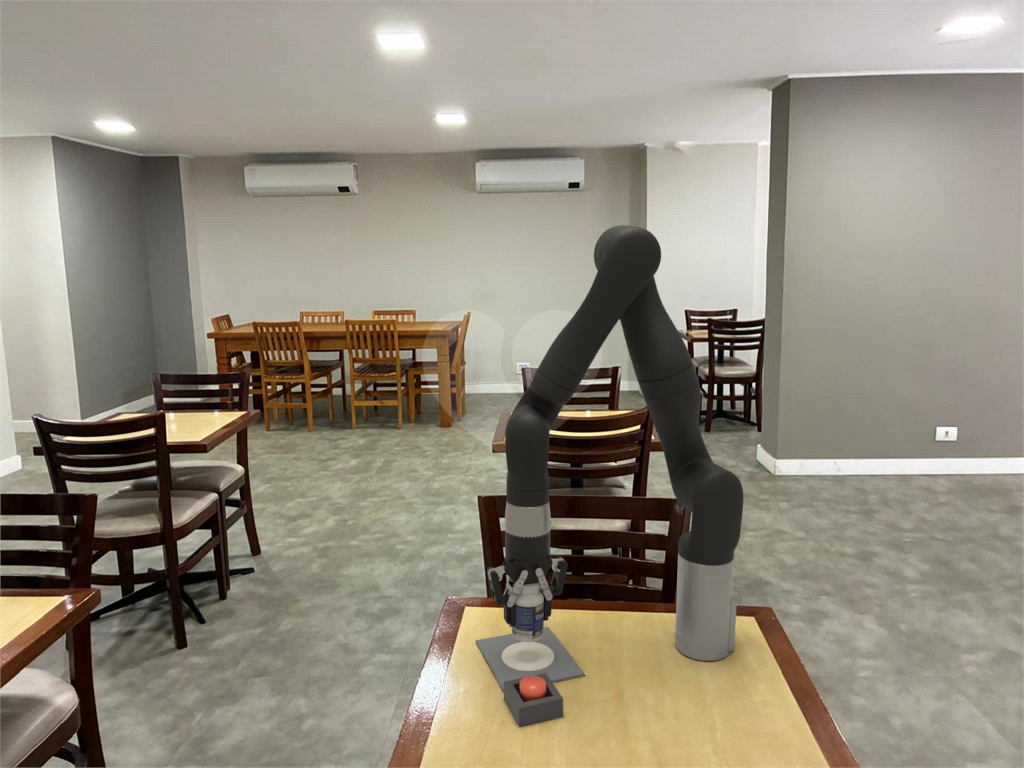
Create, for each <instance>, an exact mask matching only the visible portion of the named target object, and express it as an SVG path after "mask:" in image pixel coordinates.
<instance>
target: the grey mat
mask: <svg viewBox="0 0 1024 768" xmlns="http://www.w3.org/2000/svg"><path fill="white" fill-rule="evenodd" d="M475 644H476V645H477V647H478V649H479V651H480V653H481V654H482V657H483V658H484V660H485V662H486V663H487V666H488V667H489V669H490V671H491V673H492V675H493V676H494V679H495V680H496V682H497V684H498V685H499V688H500V689H501V691H502V692H503V694H504V682H505V681H510V680H514V679H519V678H524V677H527V676H534V675H538V674H543V673H546V674H547V676H548V677H549V678H550V680H551V681H552V683H553V684H554V683H558V682H563V681H568V680H572V679H577V678H582V677H586V674H585V672H584V670H583V669H582V668H581V667H580V666H579V664H578V663H577V662H576V661H575V659H574V657H573V656H572V655H571V654H570V653H569V652H568V650H567V648H565V646H564V645H563V644H562V642H561V641H560V640H559V638H558V637H557V636H556V634H555V633H554V632H553V630H551V629H550V627H549V626H547V627H543V636H542V638H541V639H539V640H537V641H534V642H522V641H519V640H517V639H515V638H514V637H513V635H512V633H508V634H503V635H498V636H493V637H492V636H491V637H487V638H481V639H476V640H475Z"/></svg>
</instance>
